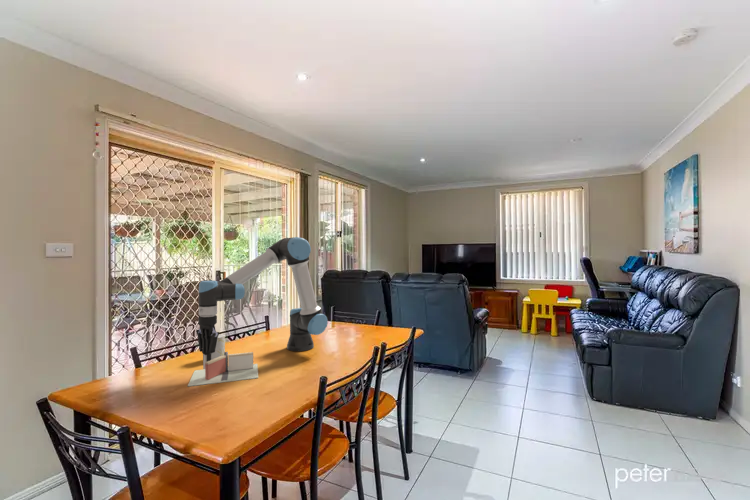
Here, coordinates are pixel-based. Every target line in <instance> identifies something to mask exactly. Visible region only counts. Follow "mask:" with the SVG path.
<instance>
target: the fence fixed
mask: <svg viewBox="0 0 750 500" xmlns="http://www.w3.org/2000/svg"><path fill="white" fill-rule="evenodd" d="M224 355H225V356H226V371H233V370H242V369H251V368H253V364H254V352H253V351H249V352H240V353H239V352H238V353H229V352H228V351H225V352H224Z"/></svg>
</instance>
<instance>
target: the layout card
mask: <svg viewBox="0 0 750 500" xmlns="http://www.w3.org/2000/svg"><path fill="white" fill-rule="evenodd" d="M258 365H259V364H258V363H253V368H251V369H242V370H233V371H225V372H223V373H221V374H219V375H217V376H215V377H213V378H211V379H208V380H207V379H205V369H203V368H202V369H197V370H196V369H195V370H194V372H193V373H192V375H191V377H190V380H189V382H188V384H187V387H188V388H189V387H195V386H196V387H197V386H204V385H212V384H213V385H214V384H221V383H230V382H239V381H245V380H253V379H254V380H255V379H259V367H258Z"/></svg>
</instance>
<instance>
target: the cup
mask: <svg viewBox="0 0 750 500" xmlns="http://www.w3.org/2000/svg"><path fill="white" fill-rule="evenodd" d="M225 349H226V335H225V334H223V333H222V334H220V333H219V335H218V338H217V343H216V349H215V352H214V353H212V354H211V360H212V359H215V358H217V357H220V356H222V355H224V352H226V350H225Z"/></svg>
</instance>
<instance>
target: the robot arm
mask: <svg viewBox="0 0 750 500" xmlns="http://www.w3.org/2000/svg"><path fill="white" fill-rule="evenodd" d="M311 251H312V249H311V245H310V243H309V241H308V240H307V239H305V238H303V237H298V236H295V237H285V238H282V239H279V240H278V241H276V242H275V243H273V244H272V245H270V246H269V247H267V248H266V250H265V252H263V253H261V254H260V255H258V256H257V257H255V258H254V259H253V260H250V261H249V262H247V263H246V264H245V265H244V266H241V267H240V268H239V269H237V270H236V271H234V272H232V273H231V274H229V275H228V276H226V277H225V278H223V279H221V280H220V281H217V280H212V279H211V280H201V281H200V282H199V283H198V319H197V321H198V322H197V324H198V325H199V329H196V330H195V333H196V335H197V341H198V349H199V352H201V354H202V361H203V363H202V364H203V367H202V370H203V369H205V362H207V361H210V360H211V354H212V353H214V352H215V349H216V343H217V338H218V335H219V334H220V332H219V331H216V326H215V325H216V324H217V323H218V319H217V318H218V315H217V314H218V302H224V301H237V300H242V299H243V298H244V297H245V294H246V292H245V291H246V290H245V289H246V288H245V286H244V284H245V283H247V282H249V281H250V280H251V279H253V278H255V277H256V276H257V275H259V274H261V273H262V272H263V271H265V270H266V269H268V268H270V267H271V266H272V265H273V264H279V263H280V262H281V261H285V260H286V264H287V267H290V268H291V271H292V276H293V279H294V283H295V287H296V292H297V295H298V299H299V303H300V307H298V308H297V307H296V308H292V309H291V310H290V311H289V337H288V342H287V344H286V349H287V350H288V351H292V352H304V351H305V352H306V351H309V350H313V349H314V347H315V346H314V344H315V343H314V340H313V337H312V335H313V336H314V335H315V336H319V335H321V334H323V333H324V332H325V330H326V328H327V326H328V317H327V316H326V315H325V314H324V313H322V312H323V311H322V308H321V306H320V305H318V303H317V299H316V294H315V291H314V286H313V282H312V278H311V274H310V268H309V262H310V257H309V256H310V254H311Z"/></svg>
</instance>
